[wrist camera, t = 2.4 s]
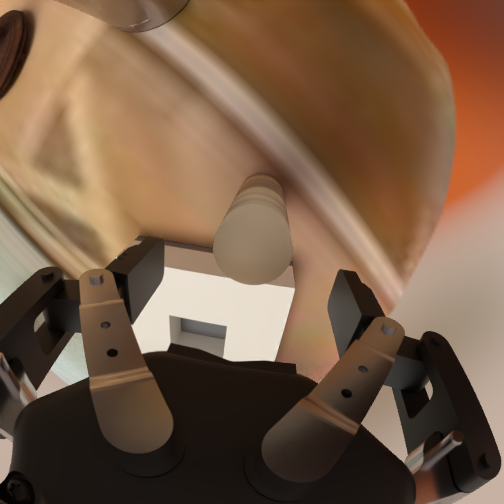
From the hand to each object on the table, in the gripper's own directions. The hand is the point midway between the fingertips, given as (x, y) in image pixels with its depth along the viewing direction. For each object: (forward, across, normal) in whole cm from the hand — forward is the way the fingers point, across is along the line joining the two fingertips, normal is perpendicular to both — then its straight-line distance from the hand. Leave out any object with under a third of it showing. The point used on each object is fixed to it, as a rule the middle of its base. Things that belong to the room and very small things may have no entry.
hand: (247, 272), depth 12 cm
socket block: (+14, +4, +14) cm, 20 cm away
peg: (+14, 0, 0) cm, 14 cm away
